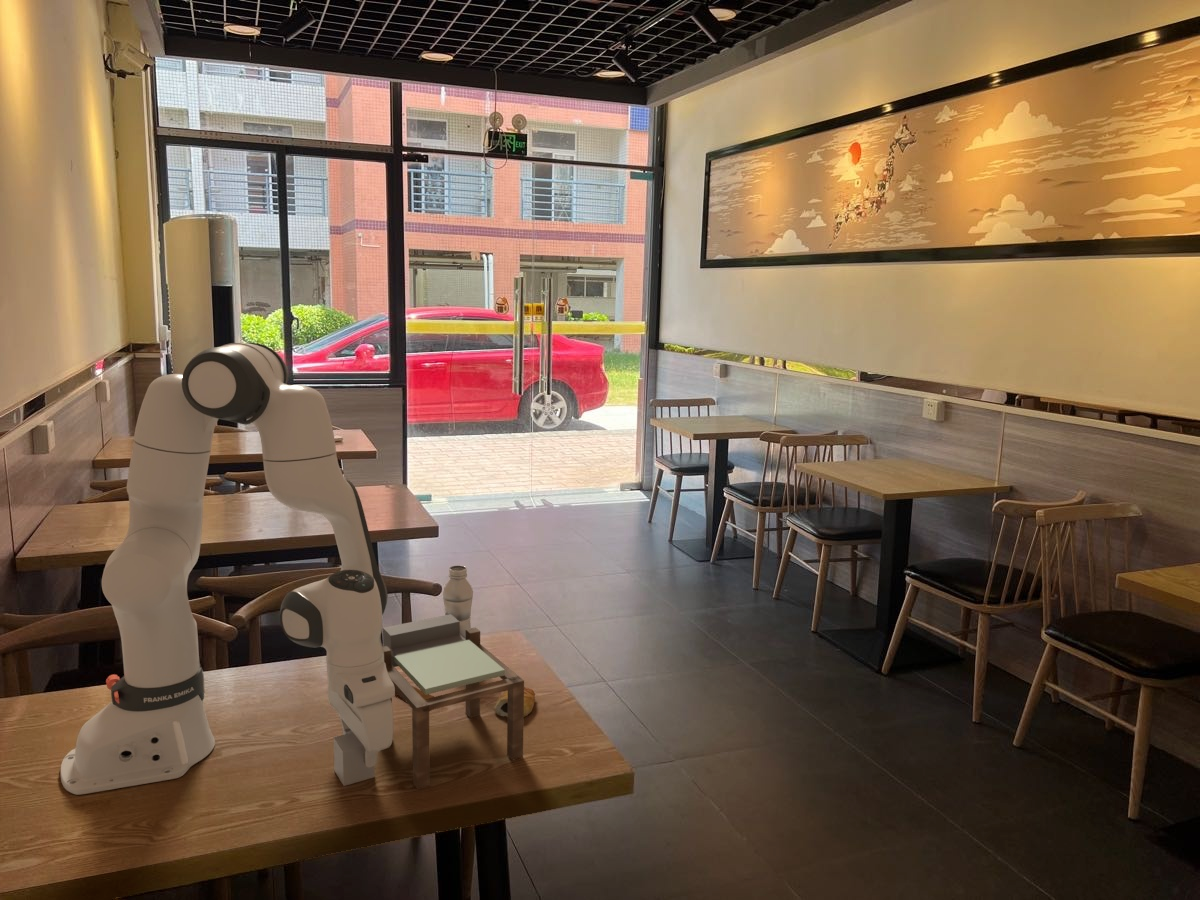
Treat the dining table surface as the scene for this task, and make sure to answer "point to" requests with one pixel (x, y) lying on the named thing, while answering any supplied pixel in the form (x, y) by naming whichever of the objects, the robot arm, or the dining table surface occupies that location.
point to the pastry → (502, 702)
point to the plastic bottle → (458, 597)
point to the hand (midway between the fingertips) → (360, 751)
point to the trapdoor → (438, 654)
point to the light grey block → (350, 760)
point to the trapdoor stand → (469, 695)
